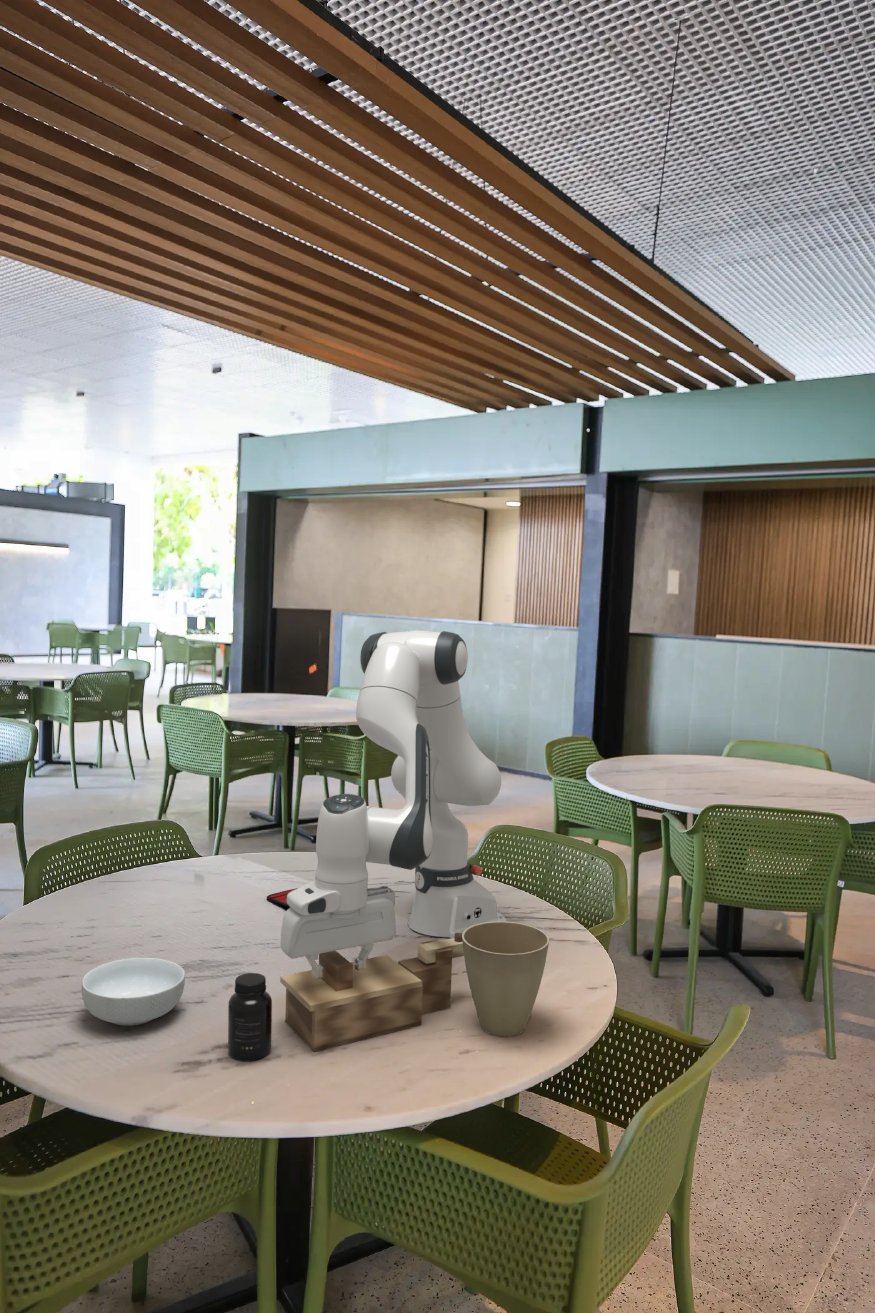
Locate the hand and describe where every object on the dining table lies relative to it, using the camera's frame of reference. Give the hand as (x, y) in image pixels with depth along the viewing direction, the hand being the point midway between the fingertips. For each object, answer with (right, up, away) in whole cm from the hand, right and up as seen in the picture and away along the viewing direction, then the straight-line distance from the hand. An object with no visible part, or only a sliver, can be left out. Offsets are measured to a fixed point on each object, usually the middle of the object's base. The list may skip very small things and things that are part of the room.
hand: (338, 973), depth 157 cm
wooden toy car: (+18, -1, +11) cm, 21 cm away
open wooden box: (+6, -9, +4) cm, 12 cm away
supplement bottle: (-13, -10, -9) cm, 19 cm away
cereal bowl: (-35, -8, +2) cm, 37 cm away
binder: (-12, -5, +65) cm, 66 cm away
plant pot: (+28, -10, +3) cm, 30 cm away
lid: (+2, -4, +1) cm, 4 cm away
